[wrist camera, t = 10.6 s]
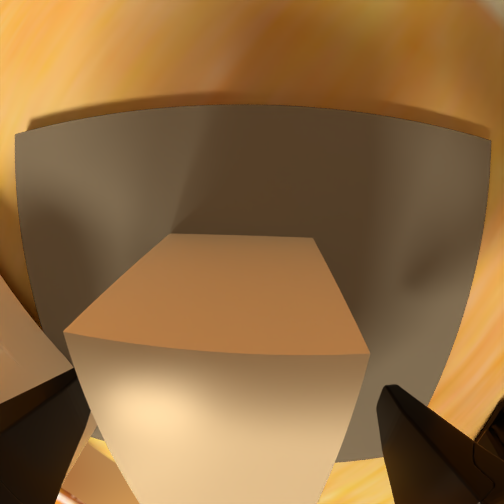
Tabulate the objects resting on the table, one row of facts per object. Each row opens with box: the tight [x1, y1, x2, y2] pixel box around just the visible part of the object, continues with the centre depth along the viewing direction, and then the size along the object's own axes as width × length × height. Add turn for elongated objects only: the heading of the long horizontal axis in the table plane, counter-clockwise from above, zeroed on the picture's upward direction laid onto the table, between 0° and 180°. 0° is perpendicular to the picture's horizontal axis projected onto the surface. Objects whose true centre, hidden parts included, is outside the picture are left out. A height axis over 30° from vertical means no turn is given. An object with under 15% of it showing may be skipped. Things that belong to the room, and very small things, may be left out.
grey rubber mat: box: [15, 105, 491, 463], centre depth 11 cm, size 18×16×1 cm
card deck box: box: [63, 234, 370, 504], centre depth 8 cm, size 8×4×6 cm, turn 179°
